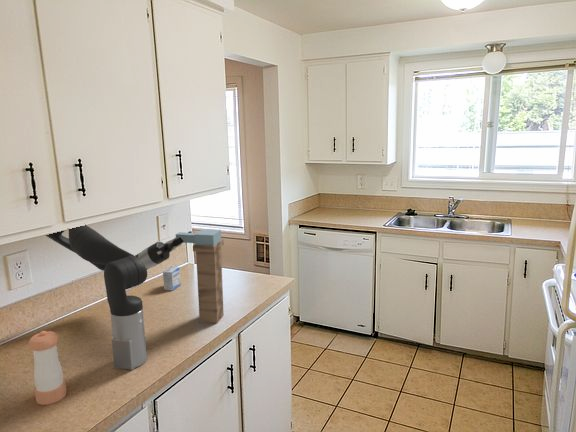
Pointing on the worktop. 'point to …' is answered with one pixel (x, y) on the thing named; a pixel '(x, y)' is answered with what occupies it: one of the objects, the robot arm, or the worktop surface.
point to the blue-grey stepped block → (201, 237)
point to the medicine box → (171, 278)
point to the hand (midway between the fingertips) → (187, 236)
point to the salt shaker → (47, 368)
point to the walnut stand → (209, 282)
